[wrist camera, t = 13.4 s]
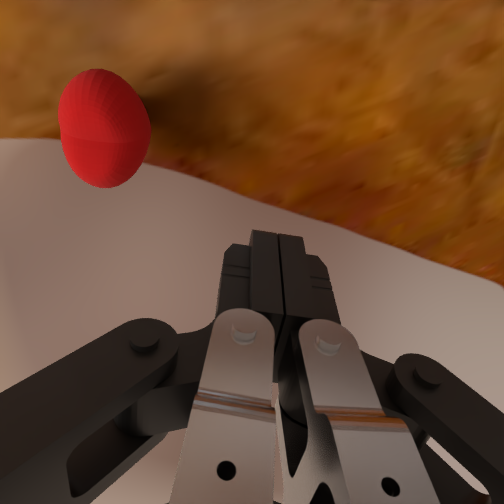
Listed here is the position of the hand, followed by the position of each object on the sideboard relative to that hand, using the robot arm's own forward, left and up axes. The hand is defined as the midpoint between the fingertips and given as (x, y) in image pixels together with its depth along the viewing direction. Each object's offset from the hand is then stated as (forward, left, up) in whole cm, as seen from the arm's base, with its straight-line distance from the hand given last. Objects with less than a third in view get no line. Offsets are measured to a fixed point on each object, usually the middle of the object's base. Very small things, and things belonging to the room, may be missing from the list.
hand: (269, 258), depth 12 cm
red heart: (+12, +5, -29) cm, 32 cm away
